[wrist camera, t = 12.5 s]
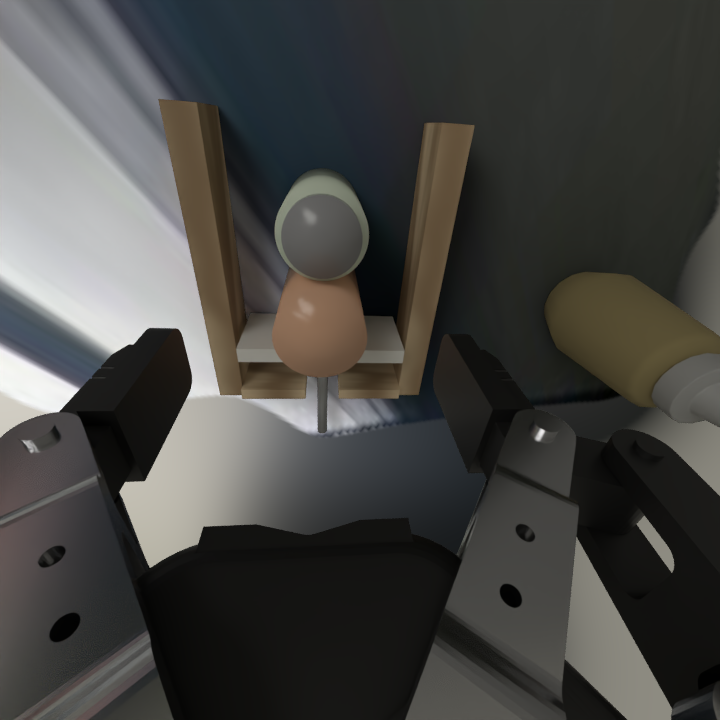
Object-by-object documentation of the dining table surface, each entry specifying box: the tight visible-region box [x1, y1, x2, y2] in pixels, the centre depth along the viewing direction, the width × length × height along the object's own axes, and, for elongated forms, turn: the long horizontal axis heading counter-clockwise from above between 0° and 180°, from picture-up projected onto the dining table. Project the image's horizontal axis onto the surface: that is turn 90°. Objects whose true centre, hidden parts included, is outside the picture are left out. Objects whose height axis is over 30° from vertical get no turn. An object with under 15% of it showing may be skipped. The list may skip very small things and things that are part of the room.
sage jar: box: [275, 168, 369, 281], centre depth 23 cm, size 6×6×9 cm
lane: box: [158, 99, 475, 399], centre depth 27 cm, size 18×21×5 cm
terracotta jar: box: [272, 267, 367, 377], centre depth 26 cm, size 6×6×10 cm
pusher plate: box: [236, 313, 404, 433], centre depth 33 cm, size 13×13×6 cm
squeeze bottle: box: [544, 272, 720, 427], centre depth 26 cm, size 8×8×18 cm
